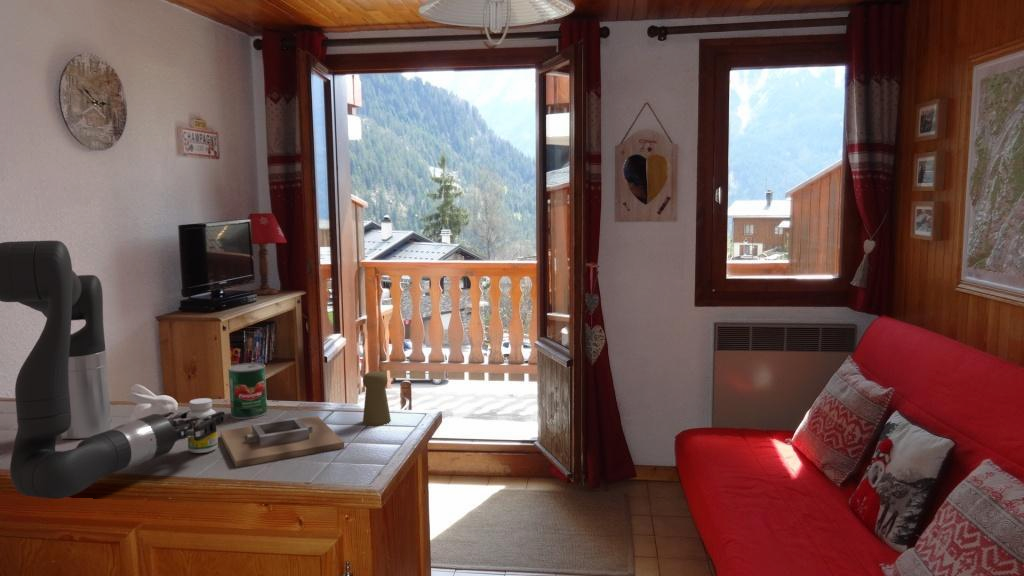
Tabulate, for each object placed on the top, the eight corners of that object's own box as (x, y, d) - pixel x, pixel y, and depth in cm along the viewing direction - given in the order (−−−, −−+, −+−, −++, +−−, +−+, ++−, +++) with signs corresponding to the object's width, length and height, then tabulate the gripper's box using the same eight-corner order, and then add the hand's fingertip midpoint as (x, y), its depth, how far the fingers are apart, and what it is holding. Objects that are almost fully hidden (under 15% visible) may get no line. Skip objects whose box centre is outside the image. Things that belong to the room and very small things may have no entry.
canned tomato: (245, 421, 160) (242, 372, 159) (223, 415, 164) (220, 368, 163) (275, 412, 166) (272, 365, 165) (252, 407, 171) (250, 361, 169)
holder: (235, 467, 132) (234, 450, 132) (220, 436, 149) (219, 421, 149) (344, 447, 142) (343, 432, 141) (318, 421, 159) (317, 407, 159)
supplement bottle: (218, 451, 140) (215, 402, 139) (187, 455, 138) (185, 405, 137) (217, 442, 145) (215, 395, 144) (188, 446, 143) (185, 398, 142)
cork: (384, 426, 155) (383, 376, 153) (358, 425, 156) (356, 375, 155) (394, 418, 161) (393, 369, 159) (369, 416, 162) (367, 368, 160)
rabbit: (185, 439, 148) (181, 382, 146) (138, 452, 141) (133, 392, 139) (156, 428, 155) (152, 374, 154) (110, 440, 148) (105, 383, 147)
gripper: (168, 425, 124) (239, 399, 140) (107, 416, 130) (182, 393, 145) (171, 467, 125) (241, 437, 141) (110, 456, 131) (184, 429, 146)
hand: (211, 415), depth 143 cm, fingers closed on supplement bottle, 5 cm apart
